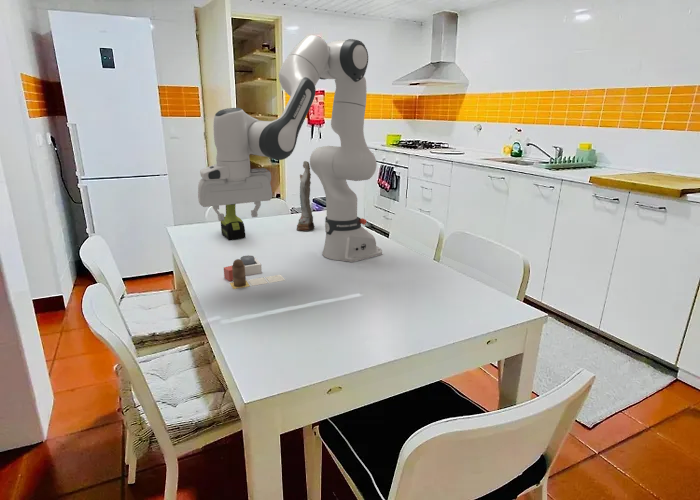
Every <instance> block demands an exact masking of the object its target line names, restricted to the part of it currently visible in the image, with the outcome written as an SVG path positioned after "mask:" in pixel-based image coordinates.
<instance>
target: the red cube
mask: <svg viewBox="0 0 700 500" xmlns="http://www.w3.org/2000/svg"><path fill="white" fill-rule="evenodd" d="M232 266H233V264H232V265H228V266H225V267H223V278H224V279H226V280H227V281H228V282H233V271H232Z"/></svg>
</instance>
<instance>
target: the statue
mask: <svg viewBox="0 0 700 500" xmlns="http://www.w3.org/2000/svg"><path fill="white" fill-rule="evenodd" d="M302 168H303V169H304V172H303V173H302V174H299V178H300V179H299V180H300V181H299V182H300V183H299V202H300V210H301V214H300V217H299V219H298V222H297V225H296V231H297V232H307V231H311V230H314V229H315V224H314V216H313V212H312V209H311V201H310V198H311V197H310V196H311V184H312V182H311V176H312V174H311V166H310V161H306V160H304V161H303V163H302Z"/></svg>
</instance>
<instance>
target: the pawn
mask: <svg viewBox="0 0 700 500" xmlns="http://www.w3.org/2000/svg"><path fill="white" fill-rule="evenodd" d="M232 265H233V266H232ZM232 265H231V266H232V271H233V281H232V282H233V283H234V286H235V287H242V286H245V285H246V281H247V279H246V276H245V265H244V264H243V261H242V260H240V259H239V258H237V259H235V260H234V261H233V263H232Z"/></svg>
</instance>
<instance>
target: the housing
mask: <svg viewBox="0 0 700 500" xmlns="http://www.w3.org/2000/svg"><path fill="white" fill-rule="evenodd" d="M254 259H255V264H253V265H246V266H245V277H246V276H250V275H256V274H262V273H263V271H262V269H263V268H262V263H261V262H260V261H259V260H258V258H256V257H254Z"/></svg>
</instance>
